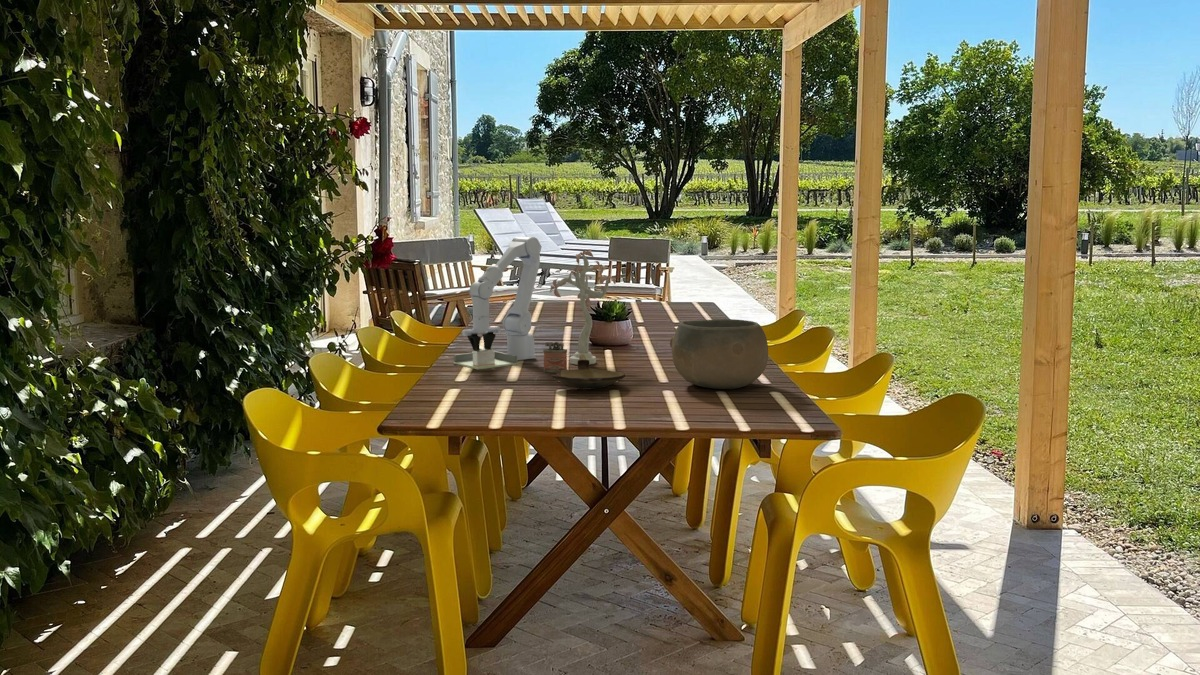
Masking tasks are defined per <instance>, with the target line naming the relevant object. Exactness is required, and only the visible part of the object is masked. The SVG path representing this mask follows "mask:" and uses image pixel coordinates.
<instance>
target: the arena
mask: <svg viewBox="0 0 1200 675" xmlns="http://www.w3.org/2000/svg"><path fill="white" fill-rule="evenodd" d="M494 352H495V364H489V365H481V366H476V365H473V352H468V353H467V352H466V353H465V352H464V353H457V354H453V364H454V365H458V366H462V367H467V368H470V369H475V370H486V369H493V368H500V367H508V366H515V365H518V360H517V356H516V355H511V354H508V352H501V351H497V350H494Z"/></svg>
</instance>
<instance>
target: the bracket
mask: <svg viewBox="0 0 1200 675" xmlns="http://www.w3.org/2000/svg"><path fill="white" fill-rule="evenodd" d="M494 351H495V349H493V348H491V349H490V348H485V347H484V346H479V350H473V349H472V353H473V365H476V366H481V365H489V364H495V352H494Z"/></svg>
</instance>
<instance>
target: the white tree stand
mask: <svg viewBox="0 0 1200 675" xmlns="http://www.w3.org/2000/svg"><path fill="white" fill-rule="evenodd" d="M587 256H589V257H592V258H594V255H593V253H592V249H584V250H582V251H581V252H580V253H577V254H576V255H575V258H576V260H575V261H576V263H577V264H576V266H575V267H573V269H568V270H567V271H566V273H568V272H569V274H568V277H564V278H562V279H561V280H559V281H558V278H556V279H553V280H552V285H551V286H550V290H549V293H552V291H553V290H554V291H553V294H554V296H555V297H557V298H561V294H560V292H559V291H558V288H559V287H562V286H564V285H566V284H567V283H569V284H571V285H572V286H574V287H576V288H577V289H578V290H579V292H578V294H577V297H576V298H577V299H580V300H579V301H580V302H579V303H580V307H581V310H582V312H583V315H584V319H585V320H584V322H585V323H584V326H583V328H582V330H581V332H580V333H579V336H578V342H577V351H576V352H575V353H567V356H568V355H572V356H570V357H569V359H570V360H569V363H570V364H571V365H576V366H578V360H580V355H581V354H583V355H585V357H586V359H587V360H589V366H590V365H595V364H596V363H597V357H596V356H594V355H593V354H592V352H590V351H589V344H590V336H591V331H592V328H593V319H592V316H591V314H590V312H589V310H588V308H591V306H592V304H591V303H592V302H591V300H590V299H603V298H604V296H605V295H606V294H607V291H608V290H609V279H610V280H611V281H612V283H613V284H614V285H616V282H617V281H616V278H615V277H614V276H610V275H608V276H607V275H604V274H603V272H604V269H605V268H604V266H603V263H602V264H600V261H598V260H595V261H594V263H596V264H594V265H593V266H592V267H590V266H589V260H588V258H587ZM581 257H582V260H583V266H580V265H581V264H580V259H581ZM599 269H600V274H603V275H602V276H598V277H597V280H598V281H599V284H600V285H598V286H597V287H596V290H598V289H600V290H601V291H600V292H598V291H595V290H592V289H591V287H590V286H589V280H592V278H593V276H591V275H590V274H589V275H587V273H588V272H593V271H596V270H599ZM572 275H573V276H574V277H575V278H574V280H573V279H572ZM557 281H558V282H557ZM604 282H605V284H604V286H603V285H601V284H603V283H604Z"/></svg>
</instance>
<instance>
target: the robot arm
mask: <svg viewBox="0 0 1200 675" xmlns="http://www.w3.org/2000/svg"><path fill="white" fill-rule="evenodd" d="M541 250H542V244H541V243H540V241H539V239H538V238H537V237H534V236H531V237H526V236H515V237H513V238H512V239H511V241H510V242H508V246H507V249H506V250H505V251H504V253H503V254H502V255H501V257H500V258H499V259H498V261H497V262H496V264H495V265H490V266H488V267H486V269H485V270H486V271H485V272H484V273H483V274H482V275H481V276H480V277H479V278H478V280H477V281H474V282H473V283H472V284H471V285H470V287H469V289H468V294H469V295H470V297H471V302H472V328H469V329H463V330H461V335H462V336H461V337H467V339H468V341H469V342H470V344H471V347H472V351H473V350H479V347H480V342H481V338H482V340H483V347H485V348H490V349H492V345H493V343H494V341H495V338H496V337H497V336H496V333H498V334H500V333H501V327H500V326H490V297H492V295H493V292H494V288H495V286H496V285H497V284H498V283H499V281H501V279H502V278H503V277H504V271H505V270H506V269H507V268H508V267H509V266H510V265H511V264H512V263H513V262H514V261H515V260H516V259H517V258H519V259H520V260H521V262H522V264H523V266H522V271H521V274H520V279H519V283H518V286H517V291H516V294H515V298H514V302H513V306H512V307H510V308H509V309H508V310H507V313H506V315H505V317H504V318H503V320H502V328H503V330H504V331H505V334H506V341H507V346H506V348H507V352H506V353H507V354H511V355H516V356H517V361H523V360H524V361H525V360H531V359H536V358H537V357H536V352H535V351H536V350H535V338H534V336H533V334H531V333H530V331H531V330H532V318H533V315H532V314H531V312H530V311H529V308H530V304H531V300H532V297H533V292H534V288H535V284H536V280H537V276H538V272H539V268H540V265H541V260H540V258H541V256H540V254H541V252H542V251H541ZM479 335H482V337H481V336H479Z"/></svg>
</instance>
